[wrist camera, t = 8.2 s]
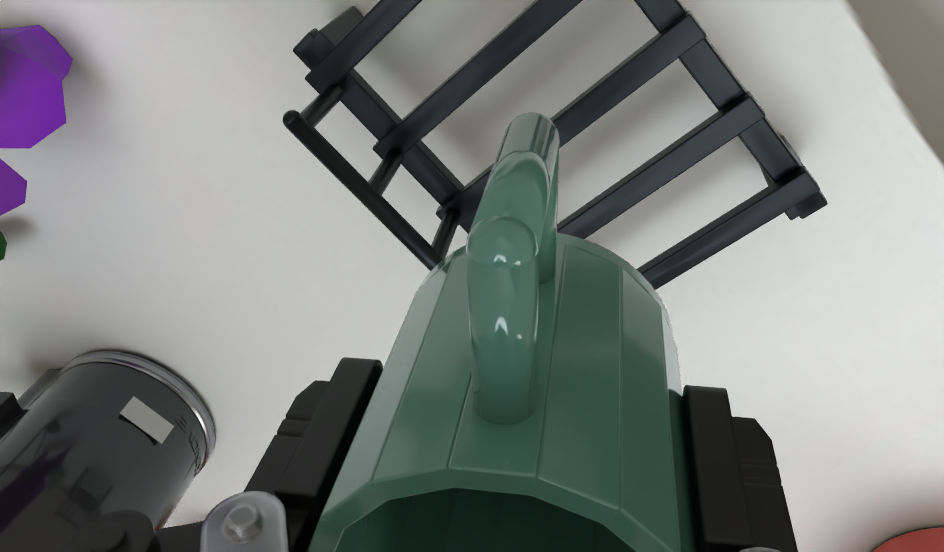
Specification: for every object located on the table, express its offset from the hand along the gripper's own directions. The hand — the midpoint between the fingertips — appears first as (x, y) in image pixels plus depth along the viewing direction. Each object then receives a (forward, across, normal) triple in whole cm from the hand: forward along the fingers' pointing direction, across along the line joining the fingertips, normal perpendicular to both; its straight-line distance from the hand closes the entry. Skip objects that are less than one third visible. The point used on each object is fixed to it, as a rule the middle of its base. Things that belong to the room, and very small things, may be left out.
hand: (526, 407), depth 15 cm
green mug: (+2, 0, -1) cm, 3 cm away
